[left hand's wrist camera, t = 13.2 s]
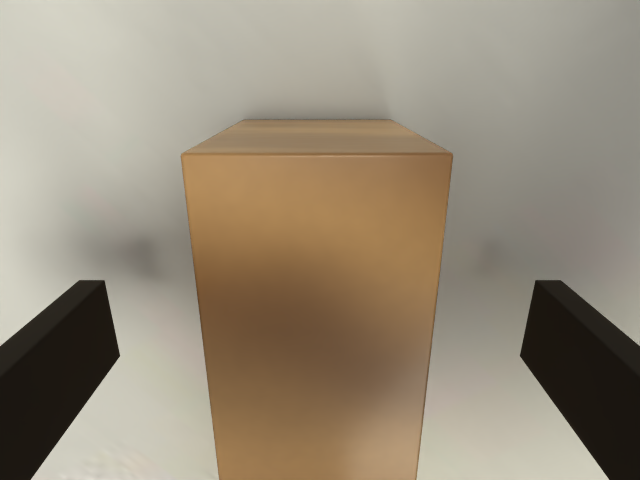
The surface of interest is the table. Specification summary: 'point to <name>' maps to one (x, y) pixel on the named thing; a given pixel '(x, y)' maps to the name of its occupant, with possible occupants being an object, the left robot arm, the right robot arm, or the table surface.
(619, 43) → the table surface
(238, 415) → the bar
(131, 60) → the table surface
